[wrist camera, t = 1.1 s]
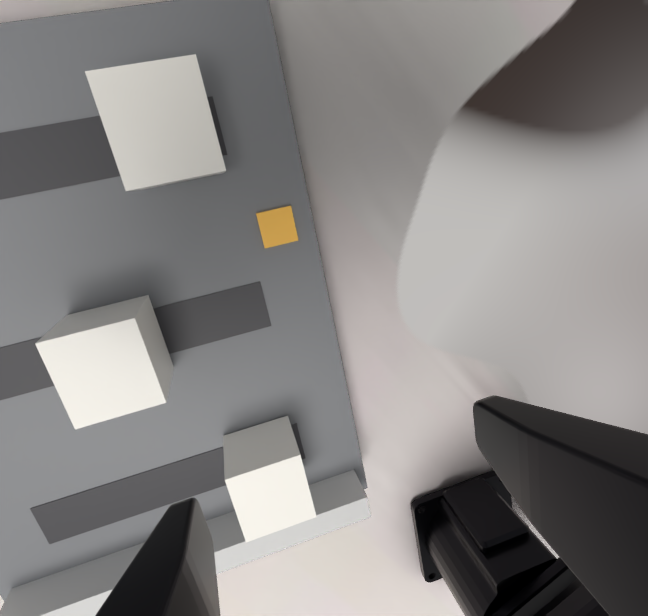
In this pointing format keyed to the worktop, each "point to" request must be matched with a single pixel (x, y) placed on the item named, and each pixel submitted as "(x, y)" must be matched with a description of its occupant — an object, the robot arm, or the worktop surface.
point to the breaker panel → (157, 303)
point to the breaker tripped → (108, 361)
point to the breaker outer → (157, 121)
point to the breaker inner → (266, 478)
